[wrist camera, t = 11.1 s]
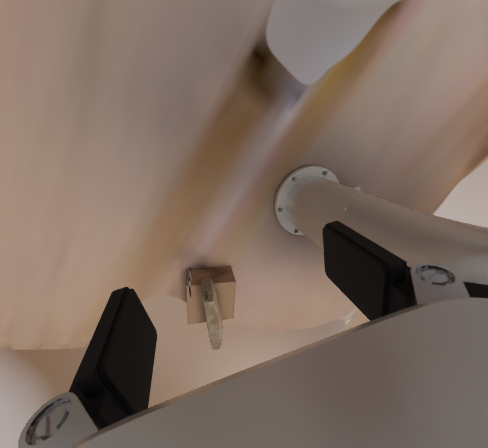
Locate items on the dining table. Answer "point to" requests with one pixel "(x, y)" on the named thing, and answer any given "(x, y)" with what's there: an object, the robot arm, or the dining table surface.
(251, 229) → the dining table surface
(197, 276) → the tan box
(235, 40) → the dining table surface
